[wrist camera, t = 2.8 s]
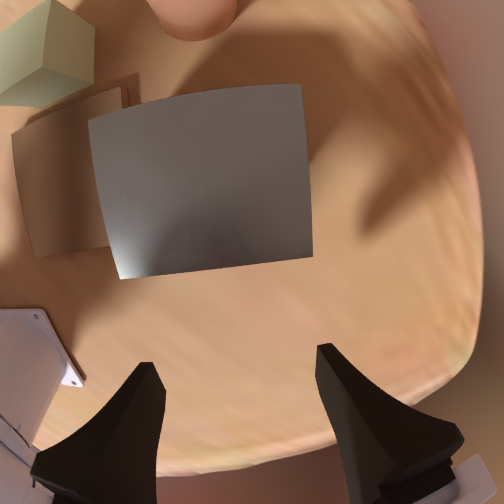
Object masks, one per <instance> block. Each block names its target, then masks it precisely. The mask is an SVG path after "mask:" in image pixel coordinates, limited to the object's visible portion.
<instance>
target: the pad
mask: <svg viewBox="0 0 504 504" xmlns="http://www.w3.org/2000/svg"><path fill="white" fill-rule="evenodd" d="M128 107H129V104H128V90H127V89H125V88H123V87H121V86H119V87H116V88H113V89H110V90H107V91H104V92H101V93H98V94H96V95H93V96H90V97H88V98H85V99H82V100H80V101H77V102H75V103H73V104H70V105H68V106H66V107H63V108H61V109H59V110H57V111H55V112H52V113H50V114H48V115H46V116H44V117H42V118H40V119H38V120H36V121H34V122H33V123H31V124H29V125H27V126H25V127H23V128H22V129H20V130H18V131H16V132H15V133H13V134H11V136H12V149H13V159H14V167H15V174H16V180H17V186H18V192H19V197H20V202H21V207H22V211H23V216H24V220H25V224H26V228H27V231H28V235H29V239H30V242H31V245H32V249H33V252H34V255H35V258H36V259H37V258H42V257H48V256H54V255H59V254H65V253H71V252H77V251H83V250H89V249H95V248H101V247H108V246H110V243H109V239H108V235H107V231H106V227H105V223H104V219H103V214H102V210H101V205H100V200H99V195H98V190H97V185H96V179H95V173H94V167H93V160H92V153H91V146H90V137H89V127H88V120H90V119H93V118H96V117H99V116H102V115H105V114H108V113H111V112H114V111H118V110H121V109H124V108H128Z"/></svg>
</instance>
